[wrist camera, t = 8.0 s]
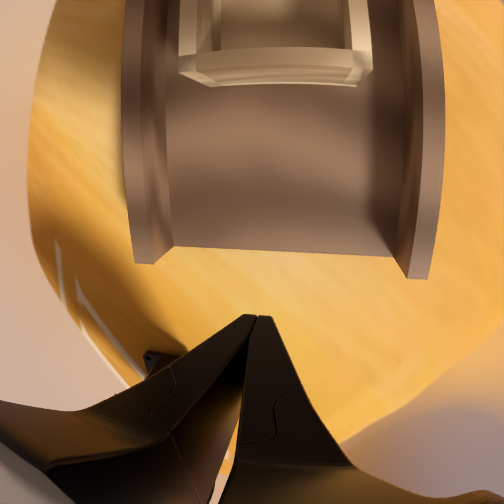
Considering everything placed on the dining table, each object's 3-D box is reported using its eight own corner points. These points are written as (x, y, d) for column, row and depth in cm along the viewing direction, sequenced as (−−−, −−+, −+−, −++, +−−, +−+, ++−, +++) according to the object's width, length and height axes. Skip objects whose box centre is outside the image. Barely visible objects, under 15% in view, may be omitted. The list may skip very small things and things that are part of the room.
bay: (410, 253, 17) (446, 302, 12) (159, 241, 20) (109, 280, 14) (408, -17, 11) (439, -63, 5) (155, -11, 14) (106, -47, 8)
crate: (356, 87, 14) (372, 69, 10) (209, 87, 15) (178, 72, 11) (347, -18, 11) (356, -56, 7) (210, -14, 13) (184, -47, 9)
